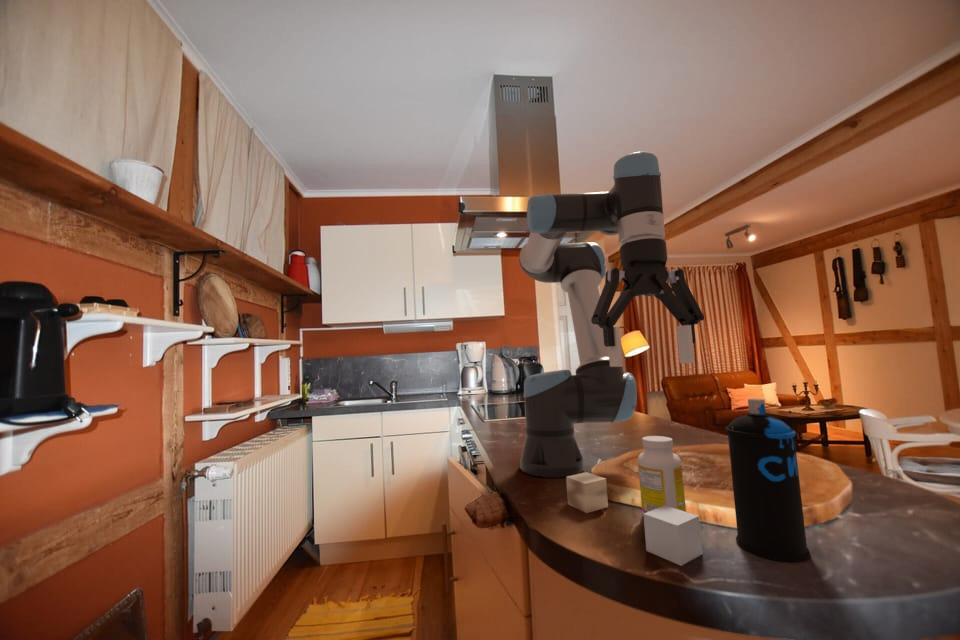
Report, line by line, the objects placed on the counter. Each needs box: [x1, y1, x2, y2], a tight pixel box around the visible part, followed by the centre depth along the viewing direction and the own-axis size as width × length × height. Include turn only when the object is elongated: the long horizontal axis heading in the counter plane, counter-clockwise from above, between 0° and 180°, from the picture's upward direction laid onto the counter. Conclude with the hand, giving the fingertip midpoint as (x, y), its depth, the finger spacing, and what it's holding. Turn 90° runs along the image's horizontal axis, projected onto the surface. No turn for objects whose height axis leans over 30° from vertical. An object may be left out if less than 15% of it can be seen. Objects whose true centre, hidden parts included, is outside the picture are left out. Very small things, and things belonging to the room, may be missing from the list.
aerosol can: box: [724, 398, 811, 563], centre depth 55 cm, size 8×8×20 cm
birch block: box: [565, 471, 609, 514], centre depth 72 cm, size 5×5×5 cm
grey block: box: [643, 505, 703, 566], centre depth 54 cm, size 5×5×5 cm
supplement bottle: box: [637, 435, 687, 517], centre depth 66 cm, size 7×7×13 cm
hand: (652, 365), depth 67 cm, fingers open, 13 cm apart
